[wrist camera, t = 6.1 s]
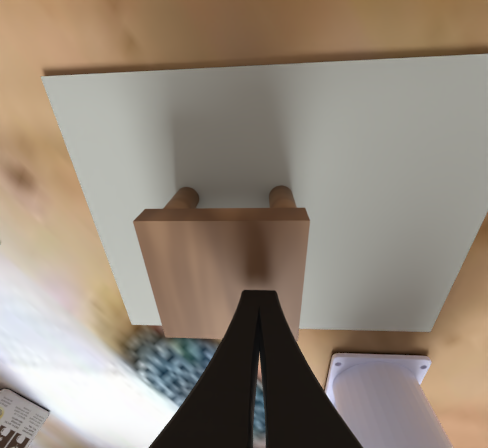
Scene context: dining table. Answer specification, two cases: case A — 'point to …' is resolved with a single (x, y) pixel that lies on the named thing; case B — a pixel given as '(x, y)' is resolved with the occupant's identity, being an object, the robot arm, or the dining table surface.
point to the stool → (222, 260)
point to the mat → (297, 170)
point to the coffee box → (19, 420)
